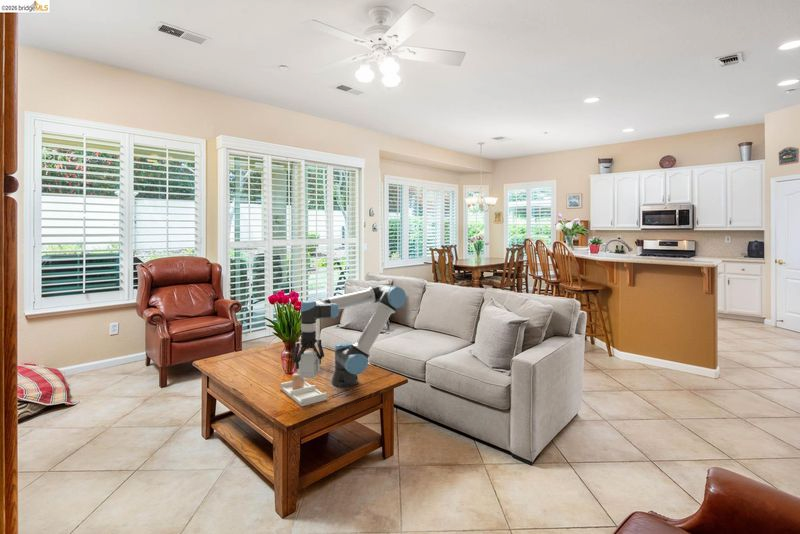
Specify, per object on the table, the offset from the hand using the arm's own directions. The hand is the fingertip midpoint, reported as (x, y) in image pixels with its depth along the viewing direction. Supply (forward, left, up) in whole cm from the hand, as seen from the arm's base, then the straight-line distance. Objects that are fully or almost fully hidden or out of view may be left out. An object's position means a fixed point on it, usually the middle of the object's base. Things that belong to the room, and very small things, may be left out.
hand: (308, 372), depth 207 cm
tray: (0, -6, -14) cm, 15 cm away
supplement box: (0, 0, -2) cm, 2 cm away
